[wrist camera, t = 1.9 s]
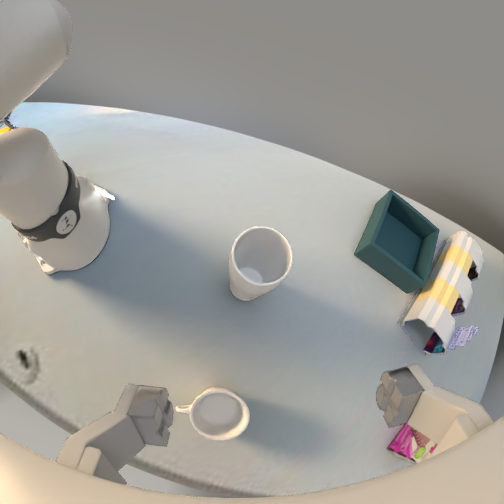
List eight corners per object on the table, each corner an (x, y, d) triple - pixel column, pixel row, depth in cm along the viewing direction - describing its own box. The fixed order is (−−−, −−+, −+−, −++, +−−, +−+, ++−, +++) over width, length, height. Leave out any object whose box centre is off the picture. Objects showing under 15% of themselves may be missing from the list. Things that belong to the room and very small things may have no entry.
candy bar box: (417, 401, 40) (479, 408, 24) (429, 412, 39) (488, 420, 24) (384, 449, 36) (441, 473, 21) (397, 457, 35) (453, 480, 20)
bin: (353, 254, 47) (369, 243, 42) (376, 203, 52) (390, 189, 47) (406, 293, 46) (425, 286, 41) (422, 240, 51) (439, 229, 46)
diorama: (424, 355, 43) (473, 352, 31) (397, 322, 44) (446, 311, 32) (466, 271, 51) (505, 253, 39) (443, 240, 52) (482, 217, 40)
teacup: (246, 385, 38) (251, 391, 33) (243, 430, 35) (248, 442, 30) (179, 379, 37) (174, 385, 32) (177, 426, 34) (173, 436, 29)
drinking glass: (262, 260, 45) (285, 220, 31) (272, 301, 43) (301, 279, 29) (220, 267, 43) (225, 229, 29) (229, 310, 41) (238, 292, 27)
